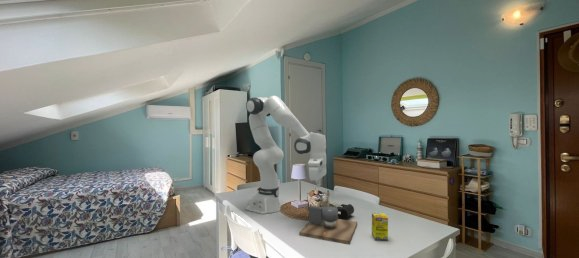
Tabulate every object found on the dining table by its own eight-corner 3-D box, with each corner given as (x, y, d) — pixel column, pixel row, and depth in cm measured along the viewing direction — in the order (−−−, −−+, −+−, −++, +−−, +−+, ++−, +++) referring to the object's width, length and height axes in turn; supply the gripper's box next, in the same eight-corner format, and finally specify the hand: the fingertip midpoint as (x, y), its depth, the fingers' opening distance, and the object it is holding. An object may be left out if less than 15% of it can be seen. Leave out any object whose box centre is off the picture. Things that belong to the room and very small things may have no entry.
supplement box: (375, 240, 113) (375, 217, 113) (371, 235, 119) (371, 212, 119) (388, 241, 113) (388, 217, 113) (384, 235, 119) (384, 212, 119)
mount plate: (299, 235, 120) (299, 223, 120) (314, 218, 142) (314, 208, 142) (349, 244, 110) (349, 232, 110) (357, 224, 132) (357, 214, 132)
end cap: (347, 221, 136) (347, 209, 136) (335, 218, 141) (335, 207, 141) (354, 216, 145) (354, 204, 144) (343, 213, 149) (342, 202, 149)
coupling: (339, 223, 128) (339, 207, 128) (335, 229, 121) (335, 212, 120) (311, 218, 134) (311, 203, 134) (306, 224, 127) (306, 208, 126)
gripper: (318, 158, 145) (318, 181, 145) (306, 163, 127) (307, 190, 127) (328, 158, 143) (329, 182, 143) (318, 163, 124) (318, 191, 124)
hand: (318, 186), depth 135 cm, fingers closed
